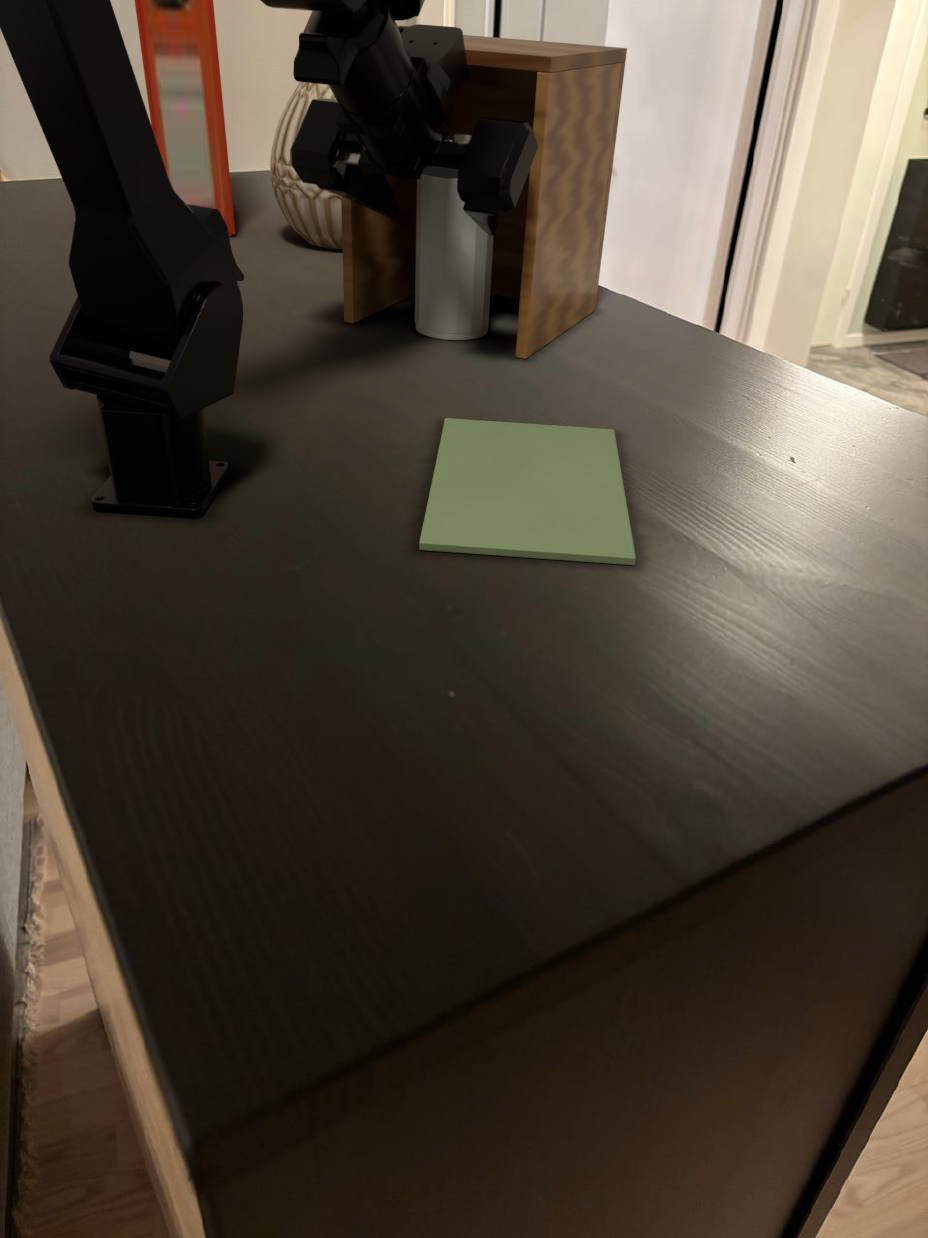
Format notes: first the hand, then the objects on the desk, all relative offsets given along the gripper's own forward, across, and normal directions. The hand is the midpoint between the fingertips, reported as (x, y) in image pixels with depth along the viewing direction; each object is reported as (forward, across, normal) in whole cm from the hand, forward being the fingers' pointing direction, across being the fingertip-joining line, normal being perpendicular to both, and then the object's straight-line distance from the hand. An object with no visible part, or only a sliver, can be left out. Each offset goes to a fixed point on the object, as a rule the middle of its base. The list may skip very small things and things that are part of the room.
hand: (443, 221), depth 79 cm
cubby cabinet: (+11, 0, +2) cm, 11 cm away
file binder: (+22, +45, -9) cm, 51 cm away
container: (+8, 0, +5) cm, 10 cm away
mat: (-10, -19, +23) cm, 32 cm away
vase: (+24, +25, -10) cm, 36 cm away
